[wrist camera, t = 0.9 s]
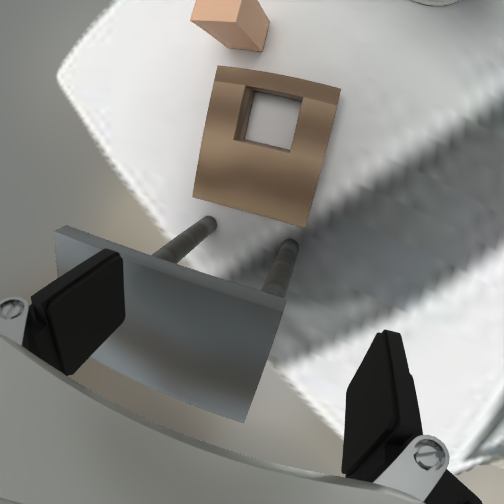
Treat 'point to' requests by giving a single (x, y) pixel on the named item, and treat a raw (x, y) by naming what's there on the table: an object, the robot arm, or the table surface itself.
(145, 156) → the table surface
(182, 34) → the table surface
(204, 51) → the table surface
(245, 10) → the peg
